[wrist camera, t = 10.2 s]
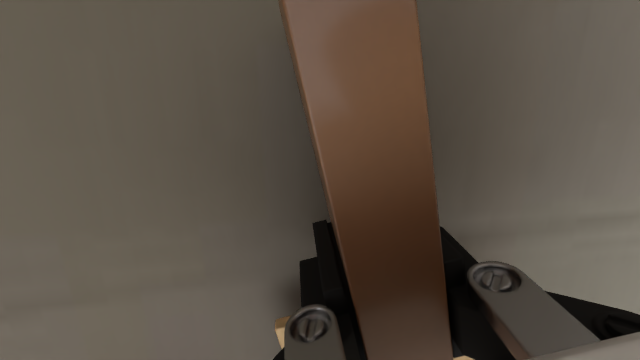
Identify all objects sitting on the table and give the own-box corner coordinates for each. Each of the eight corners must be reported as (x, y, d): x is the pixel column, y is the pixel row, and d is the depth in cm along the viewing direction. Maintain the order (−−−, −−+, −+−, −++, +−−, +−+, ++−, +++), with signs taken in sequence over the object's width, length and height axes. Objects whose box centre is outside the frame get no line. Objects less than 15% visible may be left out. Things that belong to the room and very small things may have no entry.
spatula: (173, 33, 9) (59, -11, 4) (456, -35, 9) (611, -141, 5) (326, 463, 16) (339, 609, 11) (484, 423, 16) (556, 553, 12)
